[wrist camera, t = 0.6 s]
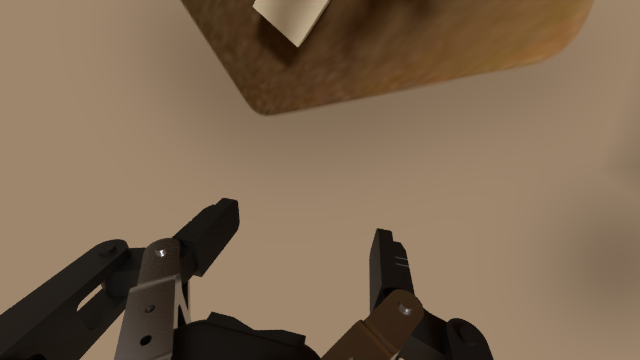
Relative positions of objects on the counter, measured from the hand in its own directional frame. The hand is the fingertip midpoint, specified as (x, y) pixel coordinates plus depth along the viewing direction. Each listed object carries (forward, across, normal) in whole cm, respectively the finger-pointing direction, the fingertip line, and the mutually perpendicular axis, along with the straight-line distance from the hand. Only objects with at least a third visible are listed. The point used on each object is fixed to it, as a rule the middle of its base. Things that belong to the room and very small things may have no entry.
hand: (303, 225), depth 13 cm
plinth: (+23, +7, -14) cm, 28 cm away
